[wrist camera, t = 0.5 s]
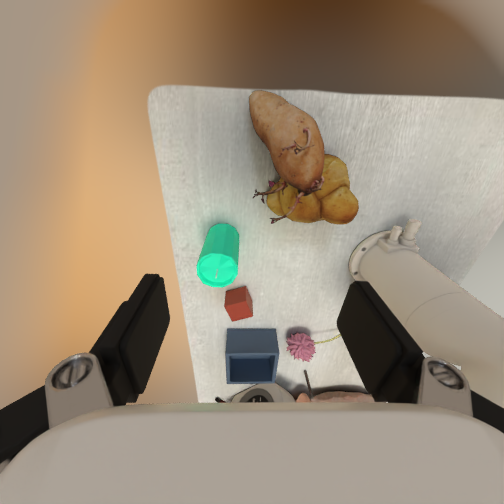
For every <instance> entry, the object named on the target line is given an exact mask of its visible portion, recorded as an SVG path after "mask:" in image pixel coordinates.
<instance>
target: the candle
mask: <svg viewBox="0 0 504 504" xmlns="http://www.w3.org/2000/svg"><path fill="white" fill-rule="evenodd" d="M238 255H239V234H238V232H237V230H236V229H235V228H234V227H232V226H231V225H229V224H217V225H215V226H213V227H211V228H210V230H209V232H208V234H207V236H206V239H205V242H204V245H203V248H202V251H201V254H200V257H199V260H198V263H197V275H198V277H199V278H200V280H201V281H202V283H203V284H206V285H209V286H211V287H225V286H227V285H229V284H231V283H233V281H234V279H235V278H236V276H237V274H238Z"/></svg>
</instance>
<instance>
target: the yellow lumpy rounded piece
mask: <svg viewBox="0 0 504 504" xmlns="http://www.w3.org/2000/svg"><path fill="white" fill-rule="evenodd" d="M322 176H323V177H324V183H323V185H322V187H321V189H322V190H318V191H315V192H313V193H311V194H310V195H308V196H302V197H301V198H300V199H301V200H300V199H299V201H300V202H302V203H298V204H297V206H296V208H295V209H294V211H293V212H292V213H291V214H289V215H288V216H287V218H289V219H291V220H292V221H297V222H304V223H312V222H316V221H320V220H325V221H327V222H329V223H333V224H347V223H349V222H351V221H352V220H353V219H354V217H355V216H356V215H357V212H358V209H359V207H358V200H357V199H356V197H355V196H354V195H353V193H352V192H351V191H350V190H349V189H350V181H349V177H348V170H347V167H346V164H345V163H344V162H343V161H341V160H340V159H339V158H338V157H335V156H332V155H329V154H324V167H323V173H322ZM283 181H284V180H283V179H282V178H280V181H278V182H277V183H282V182H283ZM320 182H321V181H320ZM287 185H288V187H286V188H285V189H284V190H283V192H282V190H280V191H278V192H276V193H273V194H268V196H267V205H268V207H269V208H270V209H271V210H272V211H273V212H274V213H275V214H277V215H278V216H284V215H286V214H287V213H288V212H289V211H290V210H291V208H289V209H288V207H292V206H293V205H294V204H295V201H296V198H295V197H296V196H298V195H299V193H298V189H296V188H294V187H293V186H291V185H289V184H288V183H287ZM281 186H282V184H275V185H274V186H273V187H272V188H271V190H270V191H273V190H275V189H278V188H279V187H281ZM282 193H284V195H282ZM296 193H297V194H296Z"/></svg>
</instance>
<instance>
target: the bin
mask: <svg viewBox="0 0 504 504" xmlns="http://www.w3.org/2000/svg"><path fill="white" fill-rule="evenodd" d="M225 355H226V378H227V384H264V383H275V378H276V372H277V365H278V359H279V348H278V341H277V335H276V329H227V341H226V353H225Z"/></svg>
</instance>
